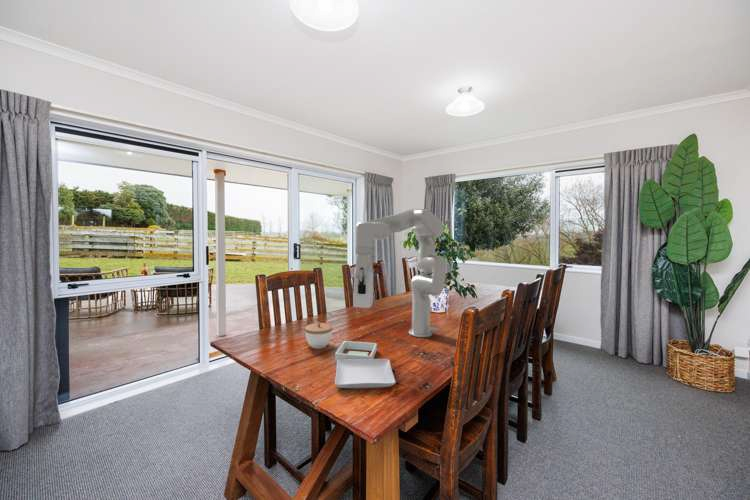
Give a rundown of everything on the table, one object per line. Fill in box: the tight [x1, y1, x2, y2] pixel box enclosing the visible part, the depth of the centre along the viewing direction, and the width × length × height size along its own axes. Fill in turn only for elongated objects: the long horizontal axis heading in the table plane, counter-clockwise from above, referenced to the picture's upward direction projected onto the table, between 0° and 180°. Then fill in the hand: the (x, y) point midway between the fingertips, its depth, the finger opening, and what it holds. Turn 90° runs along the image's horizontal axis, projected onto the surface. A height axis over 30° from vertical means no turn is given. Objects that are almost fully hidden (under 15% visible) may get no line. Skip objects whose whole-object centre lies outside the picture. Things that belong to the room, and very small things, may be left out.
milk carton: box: [352, 262, 374, 309], centre depth 138 cm, size 7×7×19 cm
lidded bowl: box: [304, 322, 333, 350], centre depth 151 cm, size 13×13×11 cm
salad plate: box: [334, 358, 396, 389], centre depth 120 cm, size 21×21×3 cm
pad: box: [346, 350, 370, 356], centre depth 140 cm, size 9×9×1 cm
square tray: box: [334, 340, 378, 363], centre depth 140 cm, size 15×15×4 cm
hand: (363, 291), depth 139 cm, fingers closed on milk carton, 7 cm apart
